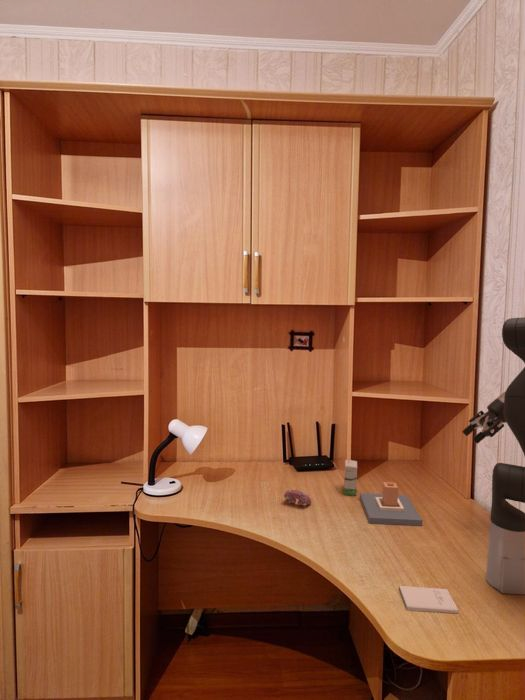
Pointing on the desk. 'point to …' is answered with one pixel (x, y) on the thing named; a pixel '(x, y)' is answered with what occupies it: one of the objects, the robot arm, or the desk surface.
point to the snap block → (390, 494)
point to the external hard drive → (427, 599)
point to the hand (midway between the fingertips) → (469, 437)
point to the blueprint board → (390, 510)
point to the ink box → (350, 477)
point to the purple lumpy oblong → (297, 497)
